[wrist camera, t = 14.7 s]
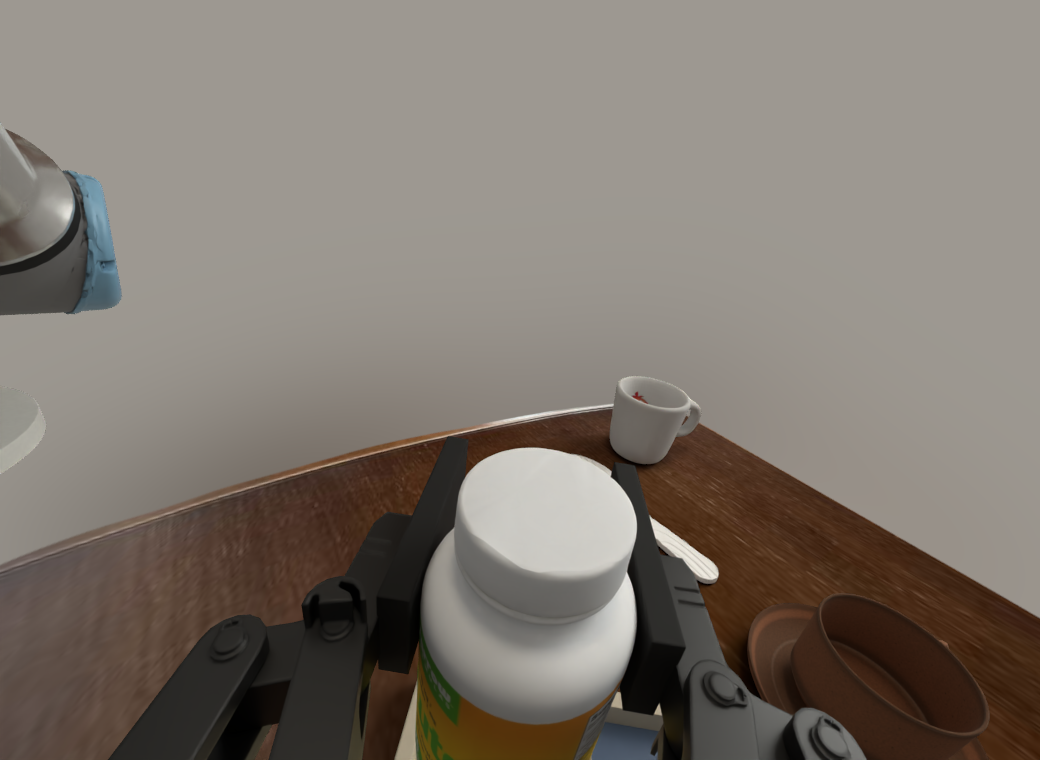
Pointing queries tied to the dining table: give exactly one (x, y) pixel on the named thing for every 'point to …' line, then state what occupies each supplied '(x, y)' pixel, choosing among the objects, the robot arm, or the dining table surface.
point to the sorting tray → (618, 747)
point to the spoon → (677, 545)
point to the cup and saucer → (869, 677)
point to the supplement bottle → (526, 612)
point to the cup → (649, 418)
